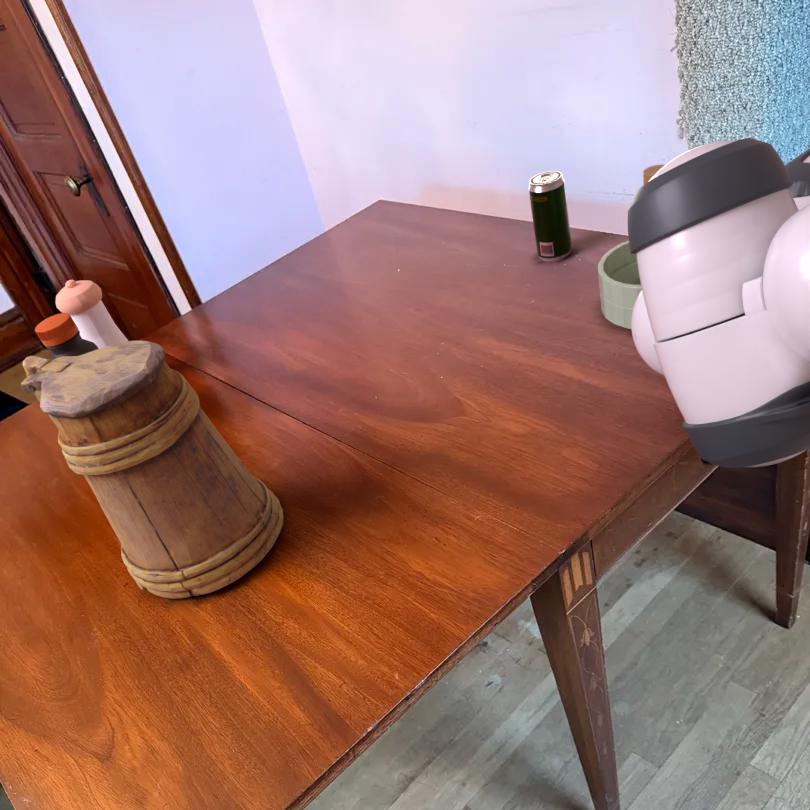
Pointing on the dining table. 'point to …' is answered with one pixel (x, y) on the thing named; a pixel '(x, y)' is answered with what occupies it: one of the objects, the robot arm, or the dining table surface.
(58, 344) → the bottle
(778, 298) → the robot arm
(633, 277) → the bowl
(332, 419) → the dining table surface
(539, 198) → the beer can
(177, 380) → the tankard
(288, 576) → the dining table surface
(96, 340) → the pepper shaker
